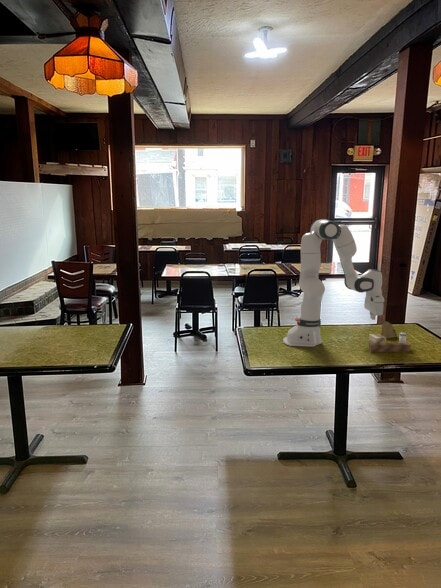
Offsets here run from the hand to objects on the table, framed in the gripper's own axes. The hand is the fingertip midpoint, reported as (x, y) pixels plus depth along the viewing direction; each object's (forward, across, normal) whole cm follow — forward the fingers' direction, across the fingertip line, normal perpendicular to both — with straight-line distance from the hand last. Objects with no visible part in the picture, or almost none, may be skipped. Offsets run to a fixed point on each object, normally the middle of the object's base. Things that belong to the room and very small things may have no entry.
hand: (372, 319), depth 258 cm
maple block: (+12, +10, -1) cm, 16 cm away
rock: (+13, -2, +11) cm, 17 cm away
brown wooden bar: (+12, +23, +1) cm, 26 cm away
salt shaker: (+12, +16, +11) cm, 23 cm away
